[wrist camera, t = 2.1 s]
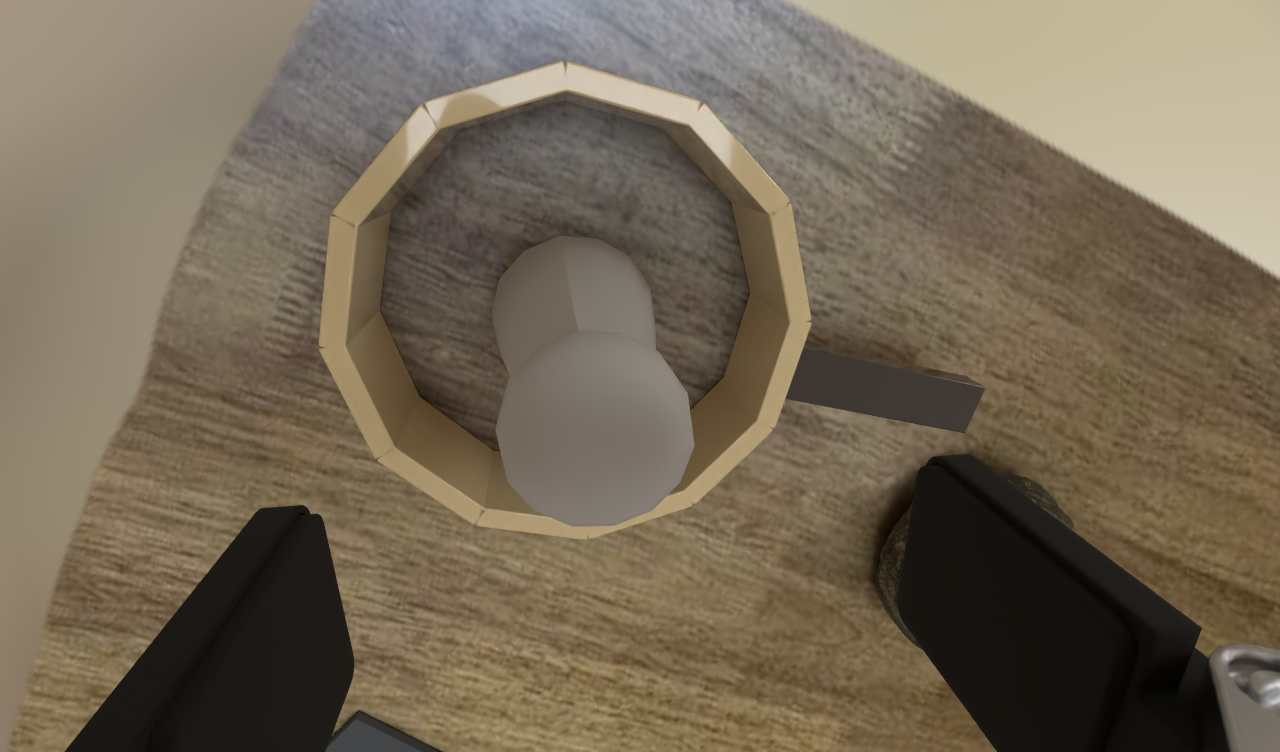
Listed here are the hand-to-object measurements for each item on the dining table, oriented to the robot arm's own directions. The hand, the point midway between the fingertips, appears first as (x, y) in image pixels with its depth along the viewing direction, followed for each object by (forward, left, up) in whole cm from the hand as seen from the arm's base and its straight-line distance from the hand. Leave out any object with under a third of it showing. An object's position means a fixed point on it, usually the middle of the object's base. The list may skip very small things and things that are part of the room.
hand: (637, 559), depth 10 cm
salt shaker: (0, 0, -16) cm, 16 cm away
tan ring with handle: (+3, 0, -16) cm, 16 cm away
